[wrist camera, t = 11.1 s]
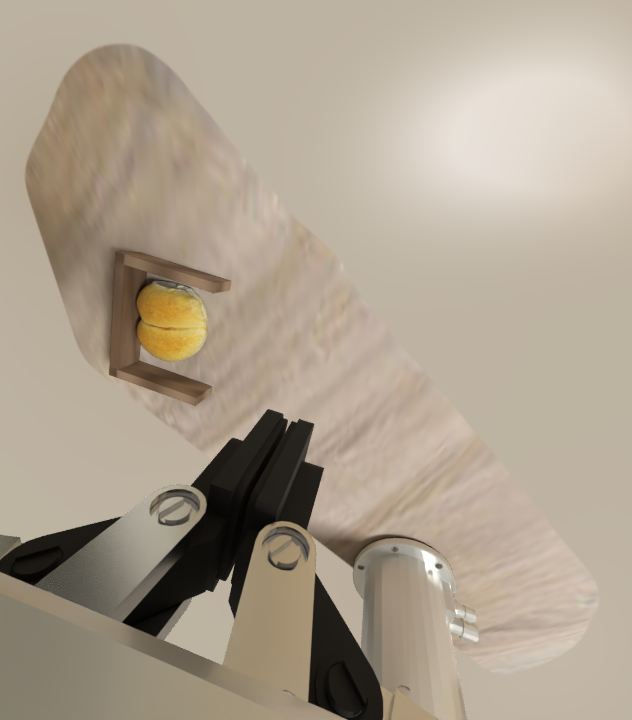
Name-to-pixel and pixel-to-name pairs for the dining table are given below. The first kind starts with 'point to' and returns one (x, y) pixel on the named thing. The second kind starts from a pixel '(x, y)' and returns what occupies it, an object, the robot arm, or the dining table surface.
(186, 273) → the brown u-shaped frame
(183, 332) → the bread roll
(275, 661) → the robot arm
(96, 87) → the dining table surface
